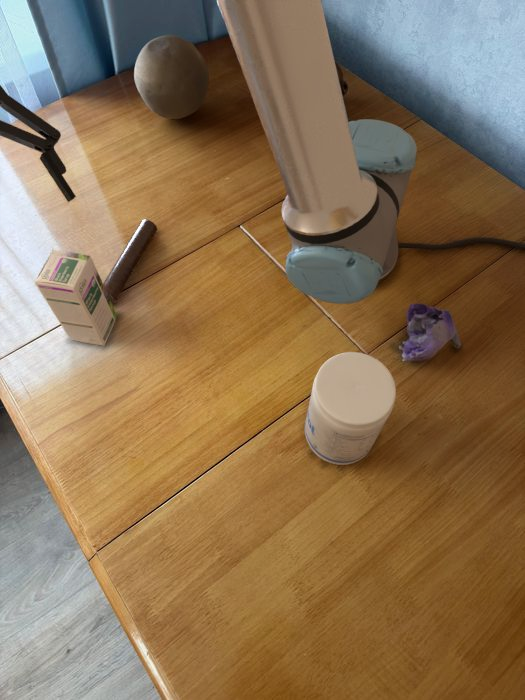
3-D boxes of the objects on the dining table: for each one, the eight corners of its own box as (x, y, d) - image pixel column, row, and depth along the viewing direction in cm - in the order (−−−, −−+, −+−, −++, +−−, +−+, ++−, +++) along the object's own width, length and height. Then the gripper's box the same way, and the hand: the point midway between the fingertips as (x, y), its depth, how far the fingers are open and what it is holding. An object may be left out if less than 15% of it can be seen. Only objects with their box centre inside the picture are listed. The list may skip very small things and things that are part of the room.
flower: (480, 298, 76) (430, 292, 71) (485, 358, 75) (434, 356, 70) (431, 310, 84) (383, 305, 79) (434, 364, 83) (386, 363, 78)
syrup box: (105, 347, 80) (76, 288, 67) (68, 340, 80) (32, 280, 68) (118, 316, 82) (92, 254, 70) (82, 310, 83) (50, 247, 71)
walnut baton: (142, 230, 92) (139, 217, 89) (158, 234, 91) (155, 221, 89) (100, 301, 84) (95, 289, 81) (117, 305, 84) (112, 294, 81)
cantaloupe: (137, 101, 110) (121, 27, 97) (203, 89, 112) (195, 15, 100) (150, 144, 103) (134, 70, 91) (220, 130, 106) (214, 56, 93)
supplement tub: (299, 404, 75) (307, 352, 62) (366, 398, 75) (387, 345, 63) (309, 471, 70) (320, 428, 57) (380, 464, 70) (406, 420, 58)
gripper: (10, 39, 71) (101, 185, 78) (-182, 118, 62) (-60, 273, 69) (13, 13, 64) (112, 174, 71) (-201, 97, 56) (-64, 271, 63)
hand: (27, 223), depth 70 cm, fingers open, 13 cm apart
